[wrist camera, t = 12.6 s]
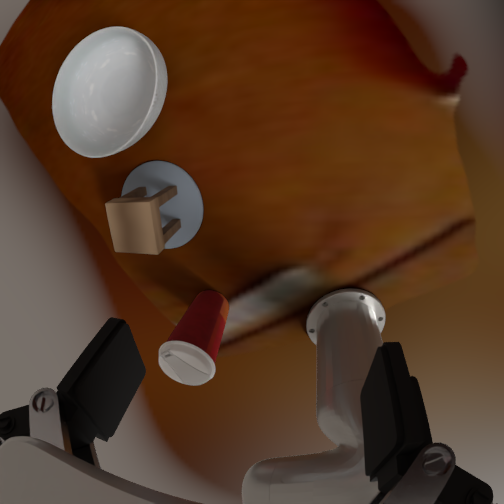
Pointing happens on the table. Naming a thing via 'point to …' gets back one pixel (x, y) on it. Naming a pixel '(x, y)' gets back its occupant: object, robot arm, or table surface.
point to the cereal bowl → (109, 91)
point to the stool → (140, 221)
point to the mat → (180, 206)
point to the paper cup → (196, 340)
